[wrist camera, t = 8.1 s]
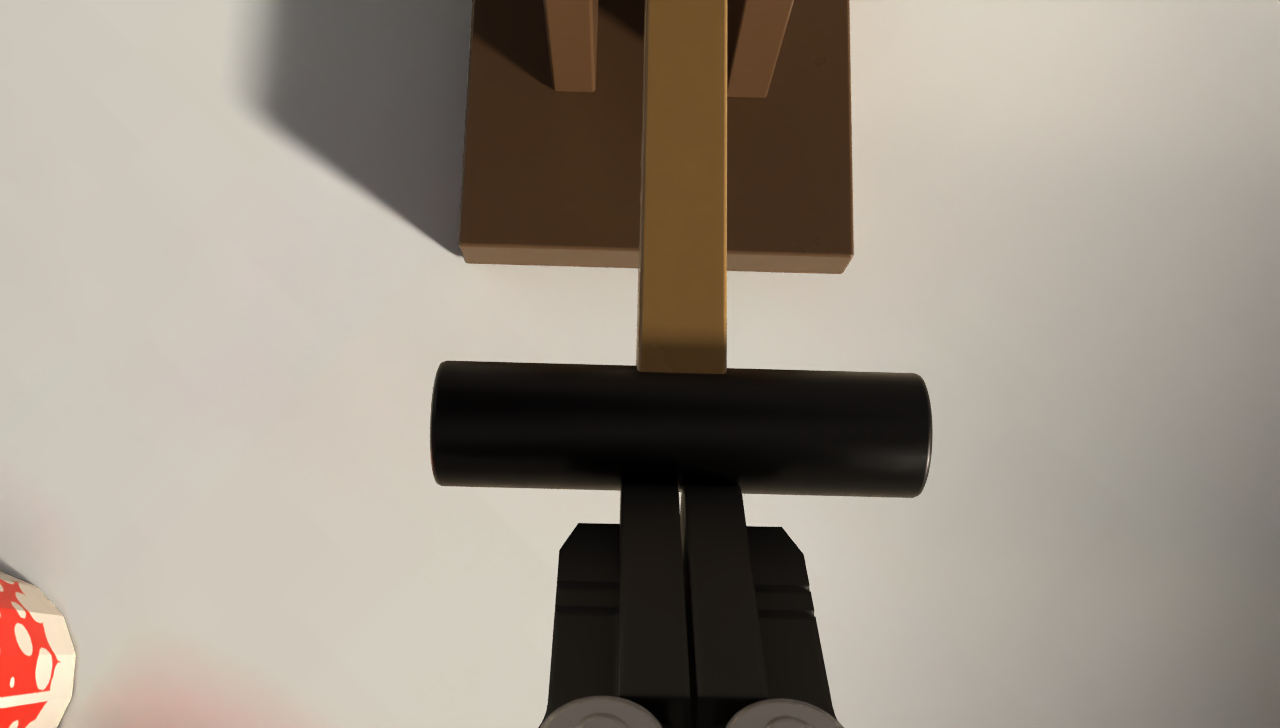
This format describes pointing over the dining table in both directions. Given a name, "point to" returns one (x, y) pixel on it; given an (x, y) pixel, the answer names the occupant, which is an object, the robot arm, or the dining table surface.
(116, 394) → the dining table surface
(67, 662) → the beverage cup
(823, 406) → the wooden lever handle
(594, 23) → the lever base
